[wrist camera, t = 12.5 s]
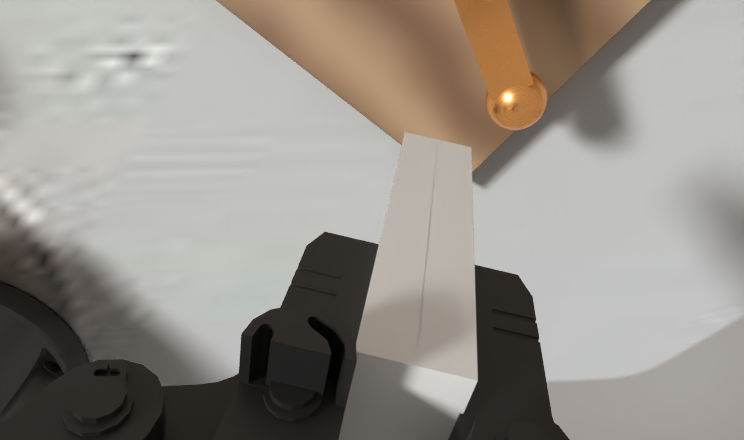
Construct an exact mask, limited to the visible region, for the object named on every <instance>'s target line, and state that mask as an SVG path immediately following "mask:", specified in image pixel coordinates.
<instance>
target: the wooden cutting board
mask: <svg viewBox="0 0 744 440" xmlns="http://www.w3.org/2000/svg"><path fill="white" fill-rule="evenodd" d="M216 1H218V2H219V3H220V4H221V5H223V6H224V7H225V8H227V9H228V10H229V11H230V12H232V13H233V14H234V15H236V16H237V17H238V18H239V19H241V20H242V21H243V22H244V23H246V24H247V25H248V26H250V27H251V28H252V29H253V30H255V31H256V32H257V33H259V34H260V35H261V36H262V37H264V38H265V39H266V40H268V41H269V42H270V43H271V44H273V45H274V46H275V47H277V48H278V49H279V50H280V51H282V52H283V53H284V54H286V55H287V56H288V57H289V58H291V59H292V60H293V61H294V62H296V63H297V64H298V65H300V66H301V67H302V68H303V69H305V70H306V71H307V72H309V73H310V74H311V75H312V76H314V77H315V78H316V79H318V80H319V81H320V82H321V83H323V84H324V85H325V86H327V87H328V88H329V89H330V90H332V91H333V92H334V93H335V94H337V95H338V96H339V97H341V98H342V99H343V100H344V101H346V102H347V103H348V104H350V105H351V106H352V107H353V108H355V109H356V110H357V111H359V112H360V113H361V114H362V115H364V116H365V117H366V118H368V119H369V120H370V121H371V122H373V123H374V124H375V125H377V126H378V127H379V128H380V129H382V130H383V131H384V132H385V133H387V134H388V135H389V136H391V137H392V138H393V139H394V140H396V141H397V142H398V143H400V144H401V145H402V142H403V138H404V133H405V132H407V133H412V134H416V135H420V136H425V137H429V138H433V139H438V140H442V141H446V142H451V143H455V144H459V145H464V146H468V147H471V156H472V172H473V171H474V170H475V169H476V168H477V167H478V166H479V165H480V164H481V163H482V162H483V161H484V160H485V159H486V158H487V157H488V156H489V155H490V154H492V153H493V152H494V151H495V150H496V149H497V148H498V147H499V146H500V145H501V144H502V143H503V142H504V141H505V140H506V139H507V138H508V137H509V136H510V135H511V134H512V133H513V132H514V131H515V130H508V129H505V128H502V127H500V126H499V125H497V124H496V123H495V122H494V121H493V120H492V119H491V118H490V116H489V114H488V112H487V109H486V104H485V98H486V93H487V88H486V85H485V82H484V80H483V77H482V74H481V72H480V69H479V66H478V64H477V61H476V58H475V56H474V53H473V50H472V48H471V45H470V42H469V40H468V37H467V34H466V32H465V29H464V26H463V24H462V21H461V18H460V16H459V13H458V10H457V8H456V5H455V2H454V0H216ZM506 1H507V4H508V7H509V10H510V13H511V16H512V19H513V22H514V25H515V28H516V31H517V34H518V37H519V40H520V43H521V46H522V49H523V52H524V55H525V58H526V61H527V64H528V67H529V70H530V71H531V72H533V73H535V74H536V75H537V76H539V77H540V79H541V80H542V81H543V83H544V84H545V87H546V90H547V96H548V99H549V98H550V97H551V96H552V95H553V94H554V93H555V92H556V91H557V90H558V89H559V88H560V87H561V86H562V85H563V84H564V83H565V82H566V81H567V80H568V79H569V78H570V77H571V76H573V75H574V74H575V73H576V72H577V71H578V70H579V69H580V68H581V67H582V66H583V65H584V64H585V63H586V62H587V61H588V60H589V59H590V58H591V57H592V56H593V55H594V54H595V53H596V52H597V51H598V50H600V49H601V48H602V47H603V46H604V45H605V44H606V43H607V42H608V41H609V40H610V39H611V38H612V37H613V36H614V35H615V34H616V33H617V32H618V31H619V30H620V29H621V28H622V27H623V26H624V25H625V24H627V23H628V22H629V21H630V20H631V19H632V18H633V17H634V16H635V15H636V14H637V13H638V12H639V11H640V10H641V9H642V8H643V7H644V6H645V5H646V4H647V3H648V2H649V1H650V0H506ZM548 99H547V100H548Z"/></svg>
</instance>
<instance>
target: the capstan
mask: <svg viewBox="0 0 744 440" xmlns="http://www.w3.org/2000/svg"><path fill="white" fill-rule="evenodd" d="M454 2H455V5H456V8H457V10H458V13H459V16H460V18H461V21H462V24H463V26H464V29H465V32H466V34H467V37H468V40H469V42H470V45H471V48H472V50H473V53H474V56H475V58H476V61H477V64H478V66H479V69H480V72H481V74H482V77H483V80H484V82H485V85H486V88H487V93H486V98H485V104H486V109H487V112H488V114H489V116H490V118H491V119H492V120H493V121H494V122H495V123H496V124H497V125H499V126H500V127H502V128H505V129H508V130H521V129H525V128H527V127H530V126H531V125H533V124H534V123H536V122H537V121H538V120H539V119H540V117H541V116H542V115H543V113H544V111H545V109H546V106H547V99H548V96H547V90H546V87H545V84H544V83H543V81H542V80H541V79H540V77H539V76H537V75H536V74H535V73H533V72H531V71H530V70H529V67H528V64H527V61H526V58H525V55H524V52H523V49H522V46H521V43H520V40H519V37H518V34H517V31H516V28H515V25H514V22H513V19H512V16H511V13H510V10H509V7H508V4H507V1H506V0H454Z"/></svg>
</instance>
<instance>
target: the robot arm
mask: <svg viewBox="0 0 744 440" xmlns="http://www.w3.org/2000/svg"><path fill="white" fill-rule="evenodd" d="M535 321H536V316H535V310H534V304H533V297H532V295H531V294H530V292H529V291H528V289H527V288H526V286H525V285H524V283H523V282H522V281H521V279H520V278H519V276H518V275H515V274H511V273H507V272H503V271H498V270H494V269H490V268H486V267H481V266H477V265H475V263H474V227H473V192H472V156H471V147H468V146H464V145H459V144H455V143H451V142H446V141H442V140H438V139H433V138H429V137H425V136H420V135H416V134H412V133H407V132H405V133H404V138H403V142H402V146H401V150H400V155H399V159H398V163H397V168H396V172H395V176H394V180H393V185H392V189H391V193H390V197H389V202H388V206H387V210H386V215H385V219H384V223H383V227H382V232H381V236H380V240H379V244H375V243H370V242H366V241H362V240H358V239H353V238H349V237H345V236H340V235H336V234H332V233H328V232H324V233H323V234H322V235H320V236H319V237H318V238H316V239H315V240H314V241H312V242H311V243H310V244H308V245H307V246H306V249H305V251H304V254H303V256H302V258H301V261H300V263H299V266H298V269H297V270H296V272H295V275H294V277H293V279H292V282H291V286H290V287H289V289H288V291H287V294H286V296H285V298H284V301H283V303H282V305H281V308H277V309H272V310H269V311H268V312H266V313H264V314H262V315H260V316H258V317H257V318H255V319H253V320H252V322H251V323H250V324H249V325H248V327H247V328H246V329H245V330H244V332H243V333H242V335H241V351H240V366H239V374H237V375H235V376H234V377H231V378H228V379H225V380H222V381H219V382H215V383H208V384H201V385H181V386H161V384H160V382H159V380H158V377H157V376H156V375H155V374H153V373H152V372H151V371H150V370H148V369H147V368H146V367H144V366H143V365H141V364H137V363H133V362H130V361H126V360H123V359H121V360H98V361H95V362H92V363H89V364H88V360H87V356H86V354H85V351H84V349H83V347H82V345H81V343H80V342H79V340H78V339H77V337H76V336H75V334H74V333H73V332H72V331H71V329H70V328H69V327H68V326H67V325H66V324H65V323H64V322H63V321H62V320H61V319H60V318H59V317H58V316H57V315H56V314H54V313H53V312H52V311H51V310H50V309H48V308H47V307H46V306H44V305H43V304H41V303H40V302H38V301H37V300H35V299H34V298H32V297H30V296H29V295H27V294H25V293H23V292H21V291H19V290H17V289H15V288H13V287H10V286H8V285H5V284H3V283H0V440H569V439H568V437H567V436H566V435H565V433H564V432H563V431H562V430H561V428H560V427H559V426H558V425H557V424H555V423H554V421H553V418H552V414H551V408H550V402H549V395H548V389H547V383H546V377H545V371H544V365H543V359H542V352H541V346H540V343H539V342H538V340H539V334H538V328H537V323H535Z"/></svg>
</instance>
